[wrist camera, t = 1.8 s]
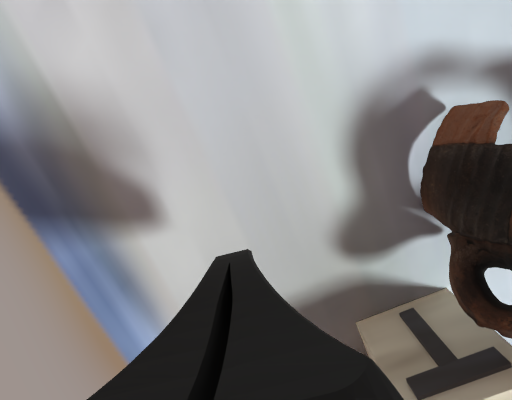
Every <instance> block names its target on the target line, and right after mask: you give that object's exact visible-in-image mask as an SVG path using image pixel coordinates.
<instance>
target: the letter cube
mask: <svg viewBox="0 0 512 400" xmlns="http://www.w3.org/2000/svg"><path fill="white" fill-rule="evenodd" d="M356 325H357V328H358V330H359V333H360V336H361V338H362V341H363V344H364V346H365V349H366V351H367V354H368V357H369V358H371V359H372V360H373V361H374V362H375V363H376V364H377V366H378V367H379V368H380V369H381V370H382V372H383V373H384V374H385V375H386V376H387V378H388V379H389V380H390V381H391V383H392V384H393V385H394V386H395V388H396V389H397V390H398V392H399V393H400V395H401V396H402V397H403V399H404V400H512V346H511V345H510V344H509V343H508V342H507V341H506V340H505V339H503V338H502V337H501V336H500V335H499V334H498V333H497V332H496V331H494V330H493V329H488V328H486V327H484V328H482V327H479V326H477V325H476V323H475V322H474V320H473V319H472V318H470V317H469V316H468V315H467V314H466V313H465V312H464V311H463V309H462V308H461V306H460V305H459V304H458V301H457V299H456V297H455V295H454V294H452V293H451V292H450V291H449V290H448V289H447V288H445V289H443V290H440V291H437V292H435V293H432V294H429V295H427V296H424V297H422V298H419V299H416V300H414V301H411V302H408V303H406V304H403V305H401V306H398V307H395V308H393V309H390V310H387V311H385V312H382V313H380V314H377V315H374V316H372V317H369V318H366V319H364V320H361V321H359V322H356Z"/></svg>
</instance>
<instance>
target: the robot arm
mask: <svg viewBox="0 0 512 400" xmlns="http://www.w3.org/2000/svg"><path fill="white" fill-rule="evenodd" d="M87 400H404V399H403V397H402V396H401V395H400V393H399V392H398V390H397V389H396V388H395V386H394V385H393V384H392V383H391V381H390V380H389V379H388V378H387V376H386V375H385V374H384V373H383V372H382V370H381V369H380V368H379V367H378V366H377V364H376V363H375V362H374V361H373V360H372V359H371V358H369V357H367V356H365V355H363V354H361V353H359V352H357V351H355V350H353V349H352V348H350V347H348V346H346V345H345V344H343V343H341V342H339V341H338V340H336V339H335V338H333V337H331V336H330V335H328V334H327V333H325V332H324V331H322V330H321V329H319V328H318V327H317V326H315V325H314V324H313V323H311V322H310V321H309V320H307V319H306V318H305V317H303V316H302V315H301V314H299V313H298V312H297V311H296V310H295V309H294V308H293V307H291V306H290V305H289V304H288V303H287V302H286V301H285V300H284V299H283V298H282V297H281V296H280V295H279V294H278V293H277V292H276V291H275V289H274V288H273V287H272V286H271V285H270V284H269V282H268V281H267V280H266V278H265V277H264V276H263V274H262V273H261V271H260V270H259V268H258V267H257V265H256V263H255V261H254V259H253V255H252V252H251V251H250V250H248V249H246V250H242V251H238V252H234V253H230V254H226V255H222V256H218V257H216V258H215V260H214V261H213V263H212V264H211V266H210V267H209V269H208V271H207V272H206V274H205V275H204V277H203V279H202V280H201V282H200V283H199V285H198V286H197V288H196V289H195V291H194V292H193V294H192V295H191V296H190V298H189V299H188V300H187V302H186V303H185V304H184V306H183V307H182V308H181V310H180V311H179V312H178V314H177V315H176V316H175V317H174V318H173V320H172V321H171V322H170V323H169V324H168V325H167V326H166V328H165V329H164V330H163V331H162V332H161V333H160V334H159V335H158V336H157V337H156V338H155V340H154V341H152V342H151V343H150V344H149V345H148V346H147V347H146V348H145V349H144V350H143V351H142V352H141V353H140V354H139V355H138V356H137V357H136V358H135V359H134V360H133V361H132V362H131V363H130V364H129V365H128V366H126V367H125V368H124V369H123V370H122V371H121V372H120V373H119V374H117V375H116V376H115V377H114V378H113V379H112V380H110V381H109V382H108V383H107V384H106V385H104V386H103V387H102V388H101V389H99V390H98V391H97V392H96V393H95V394H93V395H92V396H91V397H90V398H88V399H87Z"/></svg>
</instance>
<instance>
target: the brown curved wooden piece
mask: <svg viewBox="0 0 512 400" xmlns="http://www.w3.org/2000/svg"><path fill="white" fill-rule="evenodd" d="M508 111H509V106H508V104H507V103H506V102H505V101H498V100H496V101H487V102H483V103H476V104H468V105H458V106H454V107H453V108H451V109H450V111H449V113H448V114H447V115H446V116H445V118H444V119H443V121H442V123H441V126H440V127H439V129H438V130H437V133H436V137H435V139H434V141H433V145H432V147H431V149H430V151H429V154H428V158H427V162H426V164H425V166H424V168H423V177H422V181H421V190H420V193H421V197H422V199H421V200H422V204H423V208H424V210H425V211H426V212H427V213H429V214H430V215H432V216H433V217H435V218H436V219H438V220H439V221H440V222H441V223H442V224H443V225H445V226H446V227H448V228H449V229H450V230H451V231H452V232H451V233H450V234H448V235H447V237H448V240H449V242H450V245H451V256H450V263H449V279H450V284H451V288H452V291H453V293H454V295H455V297H456V299H457V301H458V304H459V305H460V306H461V308H462V309H463V311H464V312H465V313H466V314H467V315H468V316H469V317H470V318H472V319H473V320H474V322H475V323H476V325H477V326H479V327H482V328H484V327H486V328H488V329H493V330H496V331H498V332H499V333H500V334H501V335H502V336H504V337H507V338H512V305H506V304H504V303H502V302H500V301H499V300H498V299H497V298H496V297H495V296H494V294H493V293H492V291H491V290H490V288H489V287H488V284H487V282H486V280H485V277H484V272H485V271H486V270H487V268H491V267H498V268H504V269H510V270H511V271H512V144H504V145H495V142H496V138H497V132H498V130H499V129H500V125H501V123H502V121H503V119H504V117H505V115H506V114H507V112H508Z"/></svg>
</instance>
